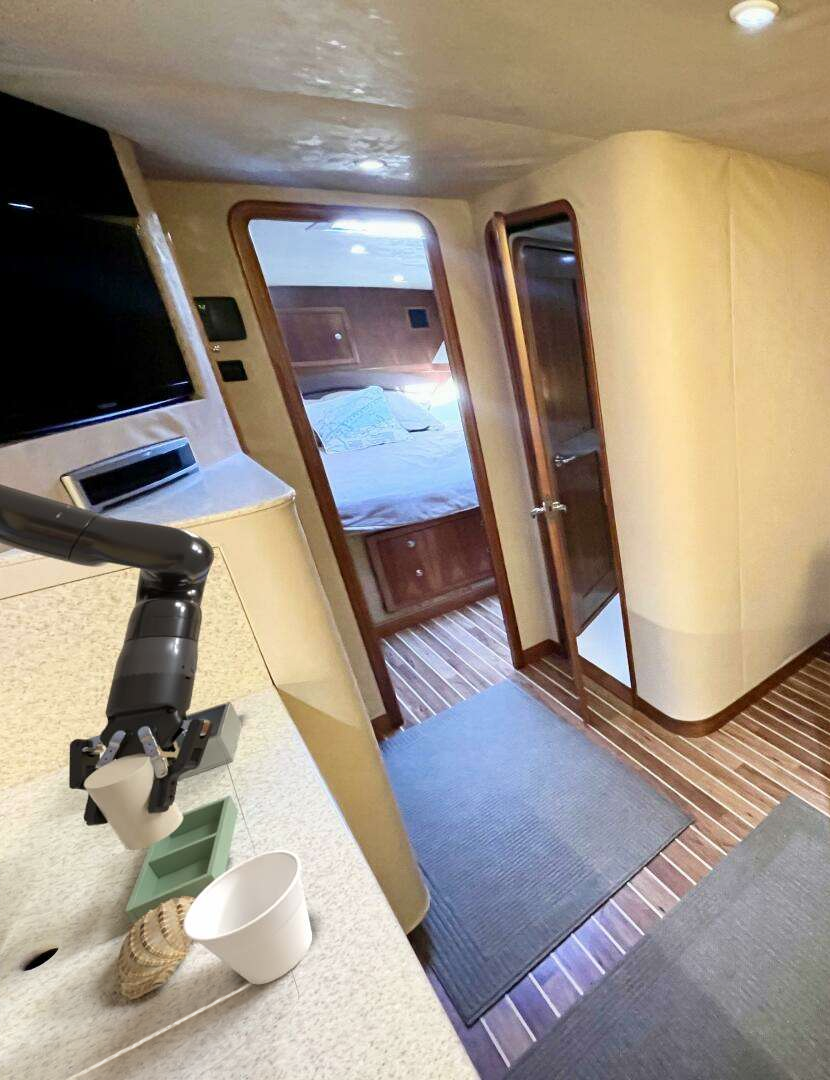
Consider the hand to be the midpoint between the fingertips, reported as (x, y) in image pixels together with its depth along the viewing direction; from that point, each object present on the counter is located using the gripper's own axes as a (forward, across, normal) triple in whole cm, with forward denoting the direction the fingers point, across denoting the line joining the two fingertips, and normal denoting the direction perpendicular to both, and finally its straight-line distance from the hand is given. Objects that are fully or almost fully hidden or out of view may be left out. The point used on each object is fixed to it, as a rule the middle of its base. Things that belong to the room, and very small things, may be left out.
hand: (128, 817), depth 64 cm
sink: (-11, -14, +31) cm, 36 cm away
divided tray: (+7, -1, +13) cm, 15 cm away
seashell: (+16, +4, +4) cm, 17 cm away
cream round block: (+2, 0, +4) cm, 5 cm away
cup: (+19, +17, +1) cm, 25 cm away
